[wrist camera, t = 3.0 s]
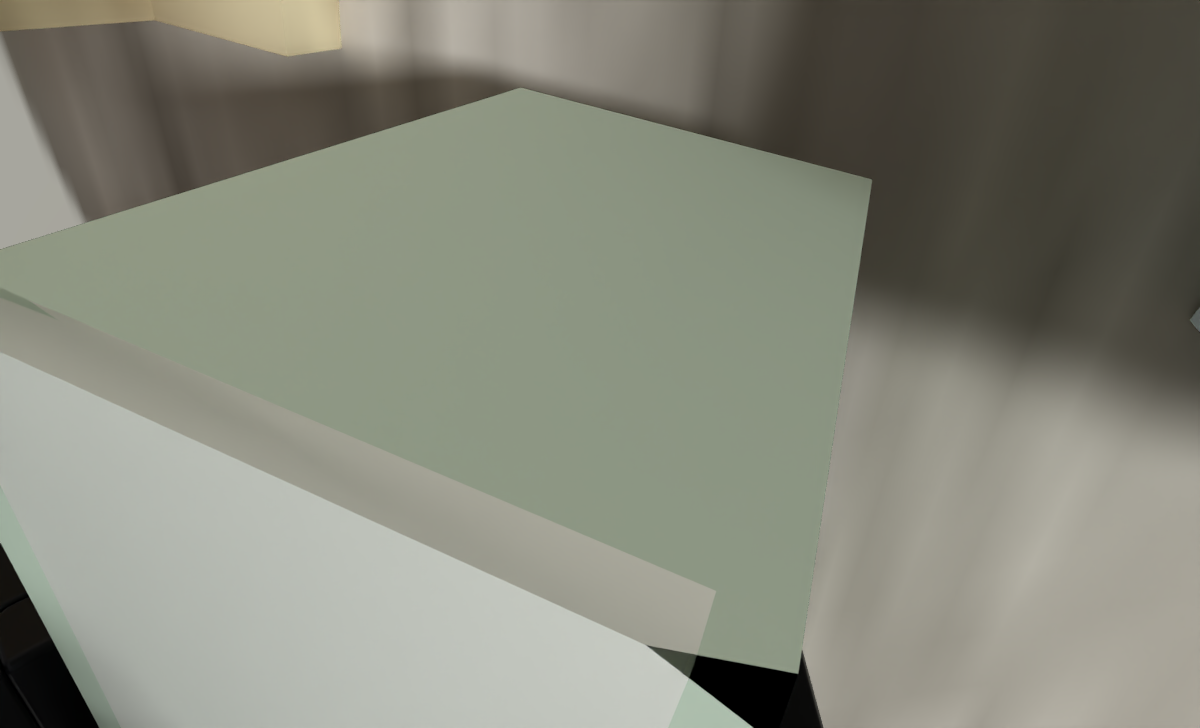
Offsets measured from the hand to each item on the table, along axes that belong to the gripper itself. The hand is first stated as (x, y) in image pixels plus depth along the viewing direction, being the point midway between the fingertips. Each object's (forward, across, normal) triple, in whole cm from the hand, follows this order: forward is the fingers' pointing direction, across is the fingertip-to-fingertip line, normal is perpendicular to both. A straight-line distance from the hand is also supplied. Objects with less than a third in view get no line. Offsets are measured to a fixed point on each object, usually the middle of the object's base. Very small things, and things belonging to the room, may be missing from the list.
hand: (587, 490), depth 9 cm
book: (+1, 0, 0) cm, 1 cm away
